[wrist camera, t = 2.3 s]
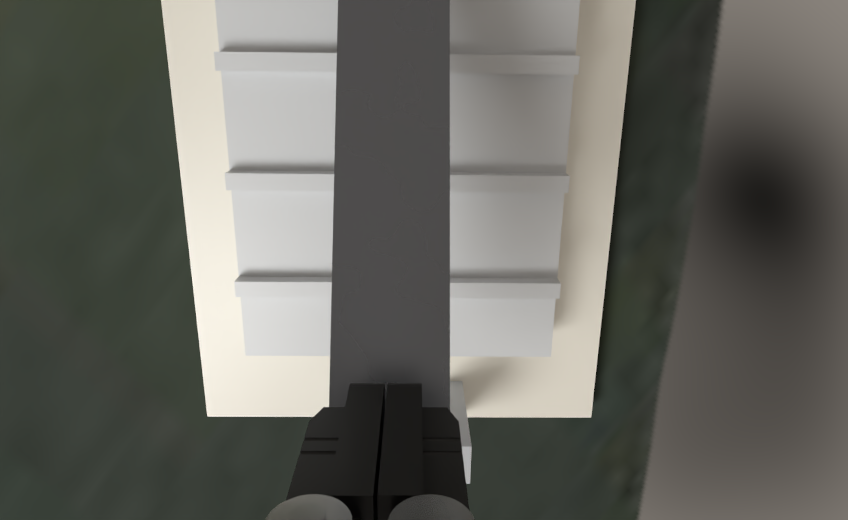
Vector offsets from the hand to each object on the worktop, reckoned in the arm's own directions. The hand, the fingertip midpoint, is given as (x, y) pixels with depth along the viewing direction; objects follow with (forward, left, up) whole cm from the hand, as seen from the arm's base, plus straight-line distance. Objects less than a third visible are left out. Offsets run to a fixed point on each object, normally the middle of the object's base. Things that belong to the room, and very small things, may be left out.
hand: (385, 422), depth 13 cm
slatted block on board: (-3, 0, -14) cm, 14 cm away
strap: (-4, 0, -6) cm, 7 cm away
